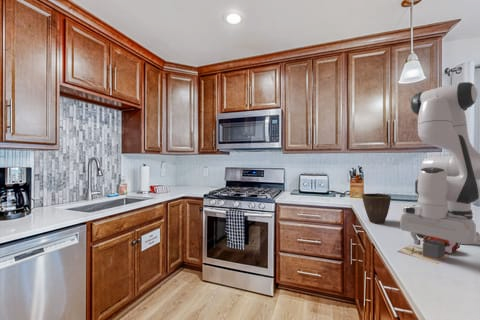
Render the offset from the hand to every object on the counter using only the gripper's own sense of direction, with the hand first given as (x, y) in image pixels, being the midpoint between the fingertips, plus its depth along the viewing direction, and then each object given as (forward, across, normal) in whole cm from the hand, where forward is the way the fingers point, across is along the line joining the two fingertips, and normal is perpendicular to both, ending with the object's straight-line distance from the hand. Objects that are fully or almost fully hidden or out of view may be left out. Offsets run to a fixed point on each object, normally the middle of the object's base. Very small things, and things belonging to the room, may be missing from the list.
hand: (432, 248), depth 88 cm
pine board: (+5, +3, -1) cm, 6 cm away
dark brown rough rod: (+4, +7, -20) cm, 22 cm away
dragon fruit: (+4, 0, -11) cm, 11 cm away
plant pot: (+4, +38, -37) cm, 53 cm away
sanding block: (+3, 0, -1) cm, 3 cm away
